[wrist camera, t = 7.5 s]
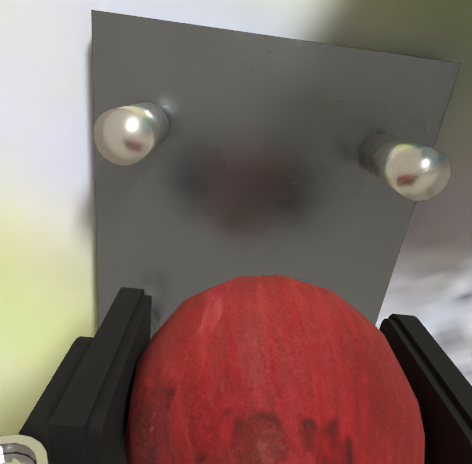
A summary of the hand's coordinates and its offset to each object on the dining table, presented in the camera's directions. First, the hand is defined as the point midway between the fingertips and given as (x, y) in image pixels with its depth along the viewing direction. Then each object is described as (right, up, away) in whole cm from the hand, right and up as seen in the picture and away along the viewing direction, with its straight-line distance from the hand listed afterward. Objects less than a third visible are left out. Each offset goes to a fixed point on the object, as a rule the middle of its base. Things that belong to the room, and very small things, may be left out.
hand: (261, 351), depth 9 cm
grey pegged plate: (0, +3, +7) cm, 8 cm away
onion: (0, +1, +2) cm, 2 cm away
